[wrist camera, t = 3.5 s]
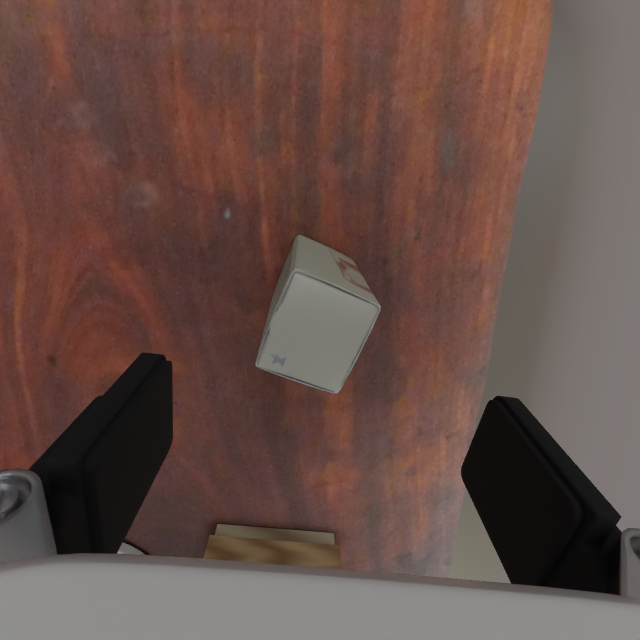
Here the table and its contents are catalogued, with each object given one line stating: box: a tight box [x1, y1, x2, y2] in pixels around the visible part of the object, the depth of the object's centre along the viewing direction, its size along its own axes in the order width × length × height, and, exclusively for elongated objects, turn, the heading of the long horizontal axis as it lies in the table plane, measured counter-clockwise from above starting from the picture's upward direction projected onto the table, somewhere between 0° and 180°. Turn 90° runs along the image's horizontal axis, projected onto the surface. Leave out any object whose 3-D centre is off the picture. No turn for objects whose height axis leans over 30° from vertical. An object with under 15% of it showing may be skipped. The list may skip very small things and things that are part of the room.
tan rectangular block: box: [203, 524, 341, 569], centre depth 33 cm, size 12×4×5 cm, turn 82°
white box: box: [255, 235, 381, 394], centre depth 21 cm, size 5×4×10 cm
